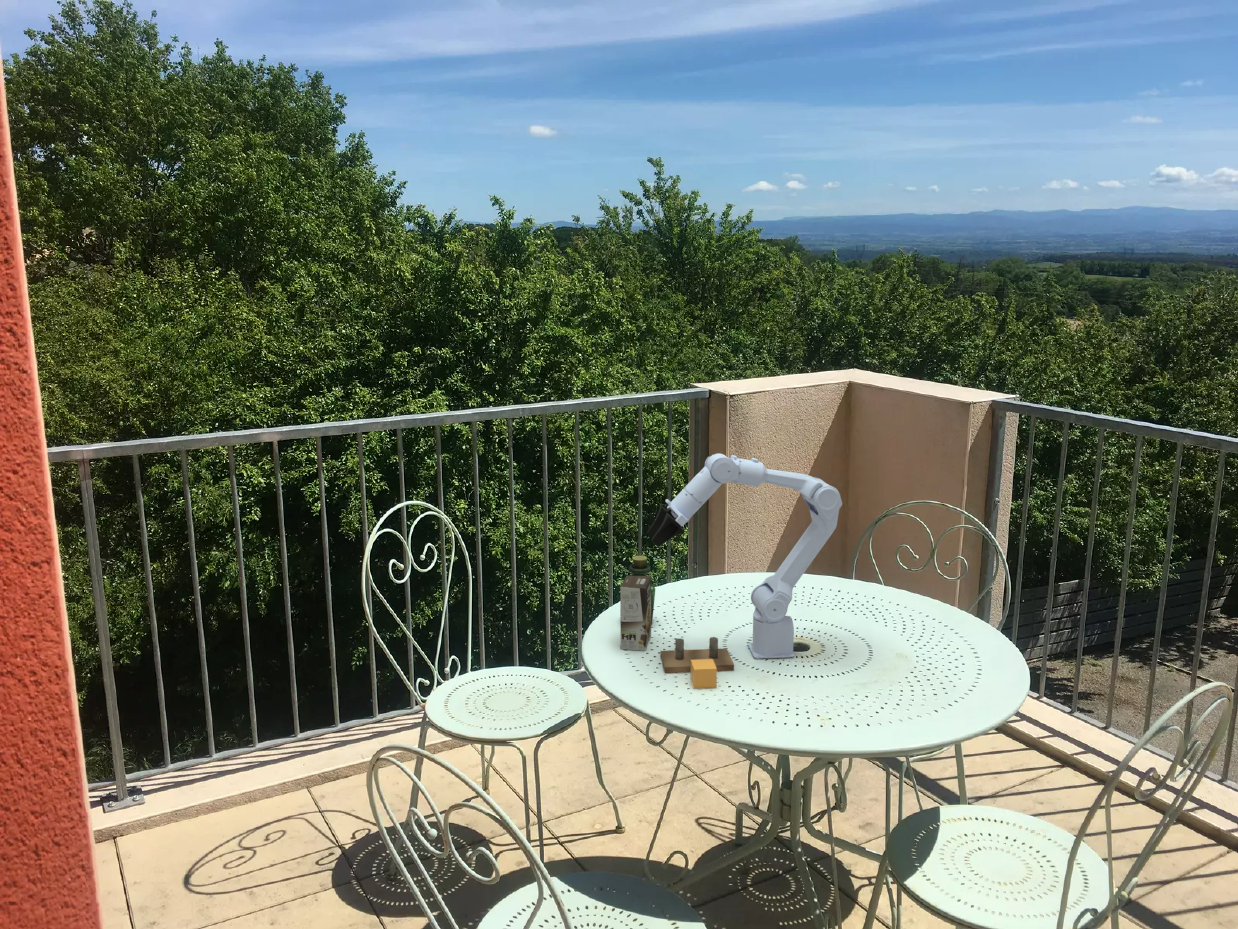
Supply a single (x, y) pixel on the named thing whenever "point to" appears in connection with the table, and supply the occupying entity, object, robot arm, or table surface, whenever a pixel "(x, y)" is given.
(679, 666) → the wooden peg board
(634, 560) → the potion bottle
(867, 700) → the table surface
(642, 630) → the coffee box
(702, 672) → the wooden toy cube
